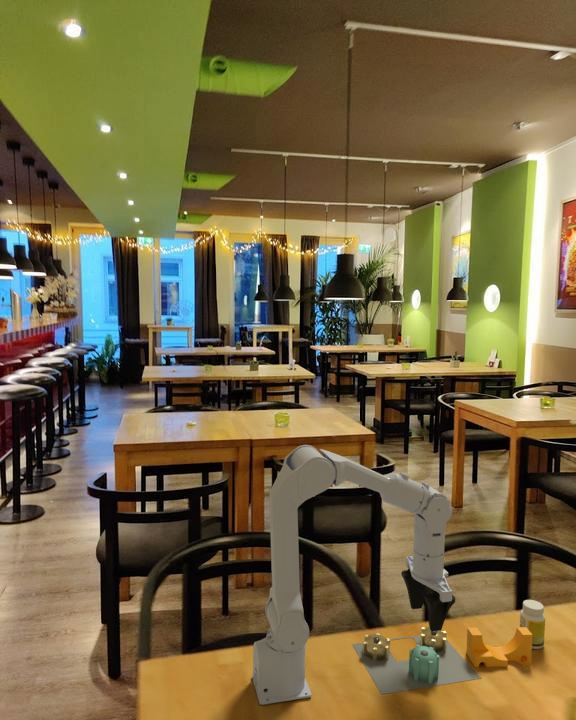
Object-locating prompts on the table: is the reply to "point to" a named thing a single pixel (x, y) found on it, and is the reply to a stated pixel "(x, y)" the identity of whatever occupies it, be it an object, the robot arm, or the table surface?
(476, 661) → the pipe clamp
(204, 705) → the table surface
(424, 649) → the teal gear
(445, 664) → the gear board
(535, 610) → the supplement bottle
